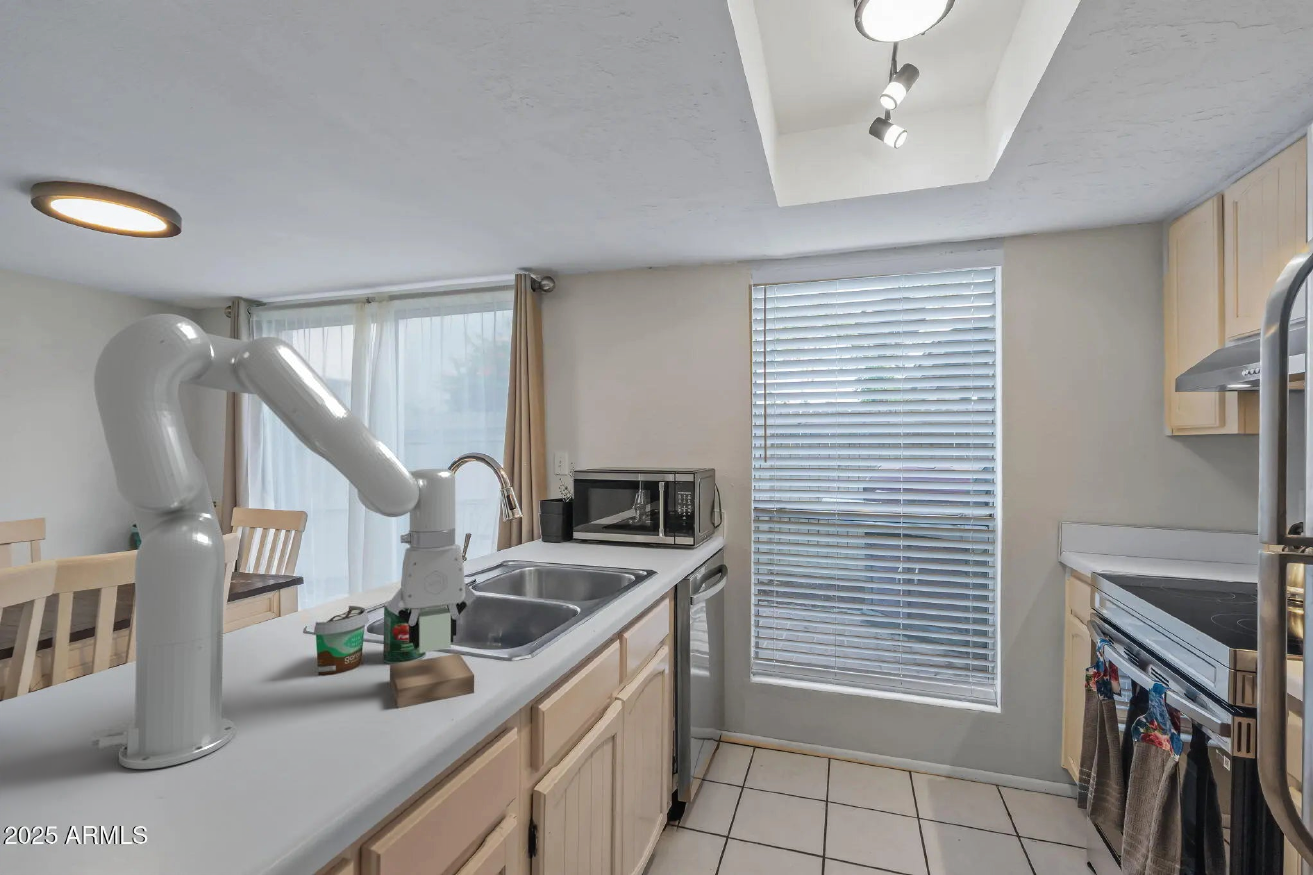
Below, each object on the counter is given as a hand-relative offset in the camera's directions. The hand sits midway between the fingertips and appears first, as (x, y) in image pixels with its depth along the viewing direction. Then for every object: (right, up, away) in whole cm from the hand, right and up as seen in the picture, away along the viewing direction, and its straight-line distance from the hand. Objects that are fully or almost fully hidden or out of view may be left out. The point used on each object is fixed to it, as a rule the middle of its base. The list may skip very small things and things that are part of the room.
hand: (432, 642), depth 103 cm
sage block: (0, -1, 0) cm, 1 cm away
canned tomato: (-11, -8, +14) cm, 20 cm away
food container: (-20, -8, +9) cm, 23 cm away
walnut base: (0, -8, 0) cm, 8 cm away
